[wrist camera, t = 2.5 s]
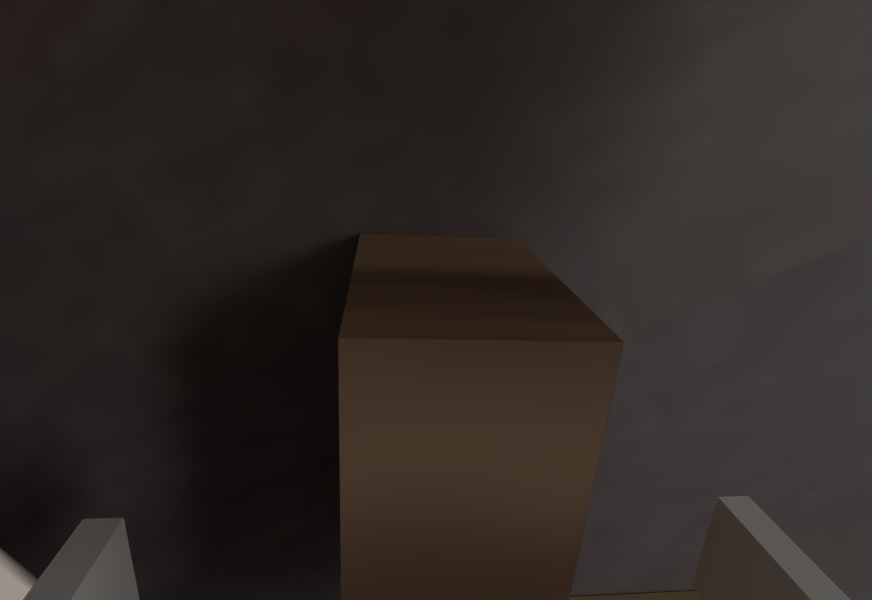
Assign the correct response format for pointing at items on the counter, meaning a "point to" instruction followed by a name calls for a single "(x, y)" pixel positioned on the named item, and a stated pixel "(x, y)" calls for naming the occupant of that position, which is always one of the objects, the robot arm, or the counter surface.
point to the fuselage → (466, 421)
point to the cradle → (645, 596)
